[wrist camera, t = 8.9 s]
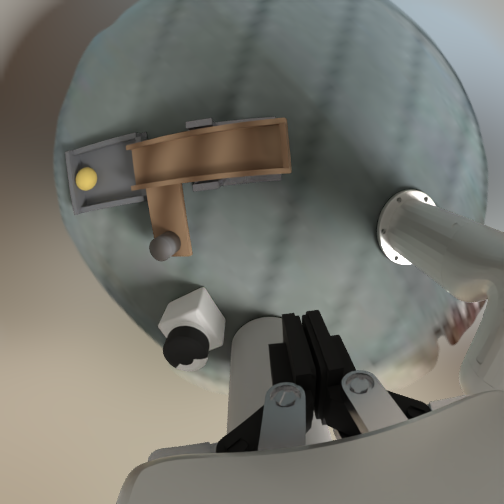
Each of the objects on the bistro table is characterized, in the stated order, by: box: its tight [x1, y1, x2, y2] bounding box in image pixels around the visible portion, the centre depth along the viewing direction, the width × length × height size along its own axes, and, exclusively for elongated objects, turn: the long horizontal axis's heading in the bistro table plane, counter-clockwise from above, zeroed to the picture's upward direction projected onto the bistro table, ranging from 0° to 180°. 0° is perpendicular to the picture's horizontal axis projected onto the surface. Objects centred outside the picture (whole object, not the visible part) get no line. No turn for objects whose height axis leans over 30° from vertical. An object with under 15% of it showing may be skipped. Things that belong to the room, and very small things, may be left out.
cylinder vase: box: [227, 317, 332, 445], centre depth 35 cm, size 12×12×25 cm
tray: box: [65, 132, 147, 215], centre depth 35 cm, size 13×10×4 cm
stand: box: [186, 117, 282, 192], centre depth 33 cm, size 12×9×7 cm
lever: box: [126, 118, 292, 261], centre depth 31 cm, size 20×16×4 cm
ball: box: [76, 167, 97, 191], centre depth 35 cm, size 4×4×4 cm
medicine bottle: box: [158, 287, 226, 371], centre depth 39 cm, size 7×7×12 cm
